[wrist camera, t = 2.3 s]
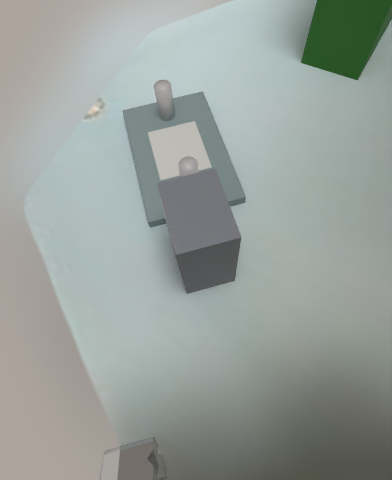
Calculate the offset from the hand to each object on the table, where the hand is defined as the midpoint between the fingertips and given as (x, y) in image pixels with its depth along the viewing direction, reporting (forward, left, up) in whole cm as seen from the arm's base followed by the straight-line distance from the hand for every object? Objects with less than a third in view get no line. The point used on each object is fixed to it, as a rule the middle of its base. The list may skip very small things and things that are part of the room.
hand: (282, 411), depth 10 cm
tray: (-17, -18, -16) cm, 30 cm away
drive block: (-8, -9, -16) cm, 21 cm away
